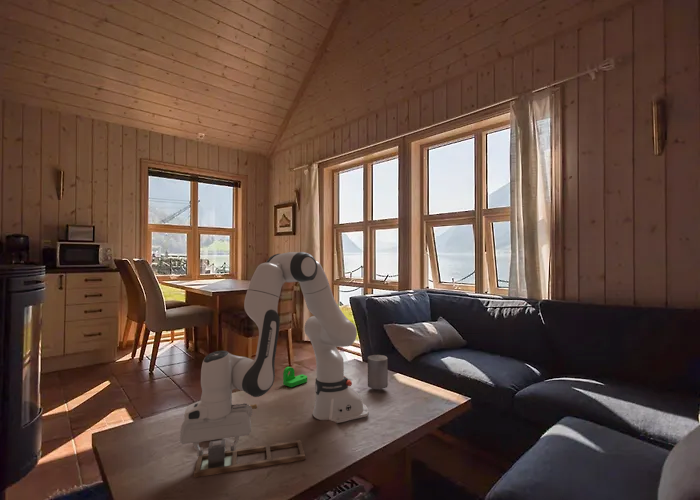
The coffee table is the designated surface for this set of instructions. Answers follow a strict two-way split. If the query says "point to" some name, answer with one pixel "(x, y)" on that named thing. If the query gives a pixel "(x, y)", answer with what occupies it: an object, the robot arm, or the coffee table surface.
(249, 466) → the divided wooden frame
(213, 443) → the gray rectangular block
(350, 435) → the coffee table surface
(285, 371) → the mechanical part
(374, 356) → the pillar candle
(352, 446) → the coffee table surface
